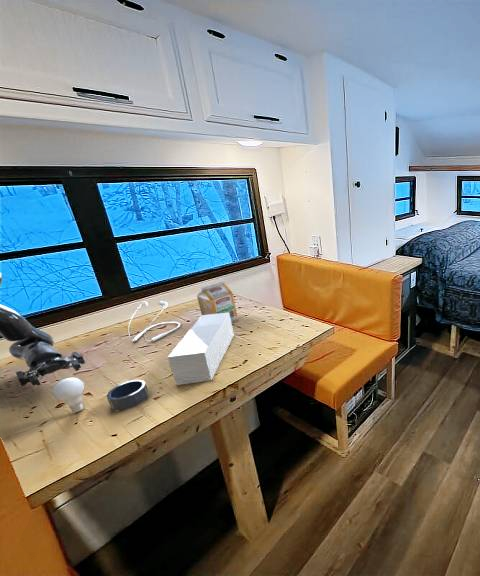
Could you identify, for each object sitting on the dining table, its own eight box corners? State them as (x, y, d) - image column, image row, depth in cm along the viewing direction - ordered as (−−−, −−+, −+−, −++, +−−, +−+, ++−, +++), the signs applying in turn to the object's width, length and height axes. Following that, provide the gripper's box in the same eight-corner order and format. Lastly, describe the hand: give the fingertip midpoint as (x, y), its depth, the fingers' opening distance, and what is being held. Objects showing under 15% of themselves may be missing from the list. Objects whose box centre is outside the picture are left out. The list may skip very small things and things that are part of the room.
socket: (134, 410, 89) (130, 399, 88) (102, 411, 89) (98, 400, 88) (155, 389, 98) (152, 379, 97) (126, 390, 98) (122, 380, 96)
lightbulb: (59, 414, 88) (44, 383, 84) (87, 401, 93) (73, 370, 90) (70, 421, 85) (54, 389, 82) (97, 407, 91) (84, 376, 87)
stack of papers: (207, 338, 129) (201, 315, 125) (234, 335, 131) (229, 312, 127) (176, 385, 100) (167, 357, 96) (211, 380, 102) (204, 352, 98)
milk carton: (216, 329, 136) (207, 289, 130) (204, 324, 142) (194, 285, 135) (238, 320, 145) (230, 282, 138) (225, 315, 150) (217, 279, 144)
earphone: (116, 338, 122) (135, 298, 131) (146, 351, 137) (161, 314, 146) (149, 338, 122) (166, 298, 131) (175, 351, 136) (189, 314, 145)
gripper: (6, 360, 93) (17, 377, 85) (69, 339, 104) (84, 353, 96) (17, 380, 96) (29, 398, 88) (77, 358, 107) (93, 373, 99)
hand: (58, 375), depth 92 cm, fingers open, 8 cm apart
